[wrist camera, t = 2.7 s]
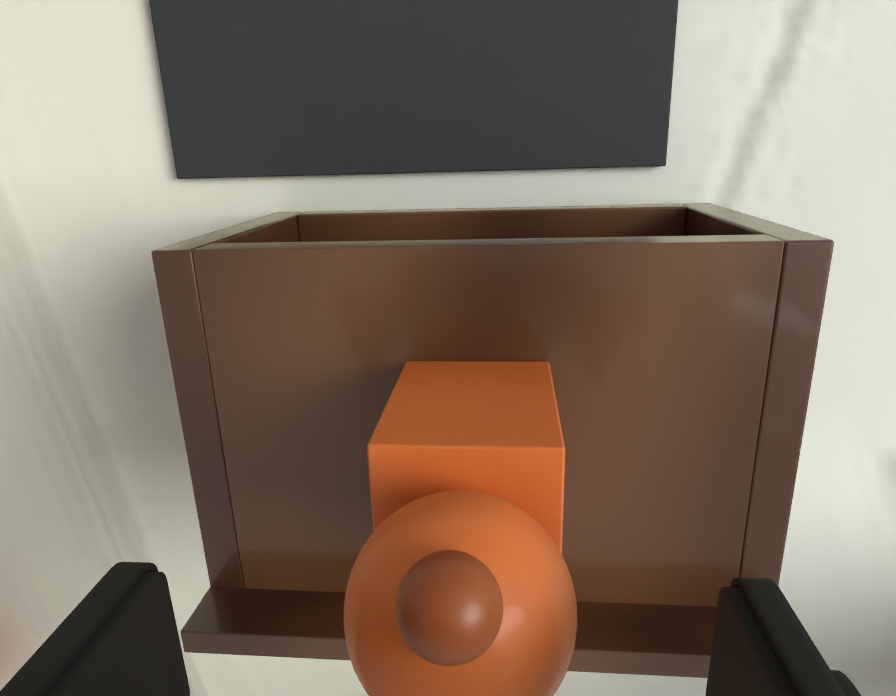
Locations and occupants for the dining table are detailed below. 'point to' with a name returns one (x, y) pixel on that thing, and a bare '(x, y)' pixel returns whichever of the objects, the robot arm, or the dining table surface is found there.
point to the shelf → (497, 339)
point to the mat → (414, 85)
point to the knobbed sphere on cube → (464, 537)
